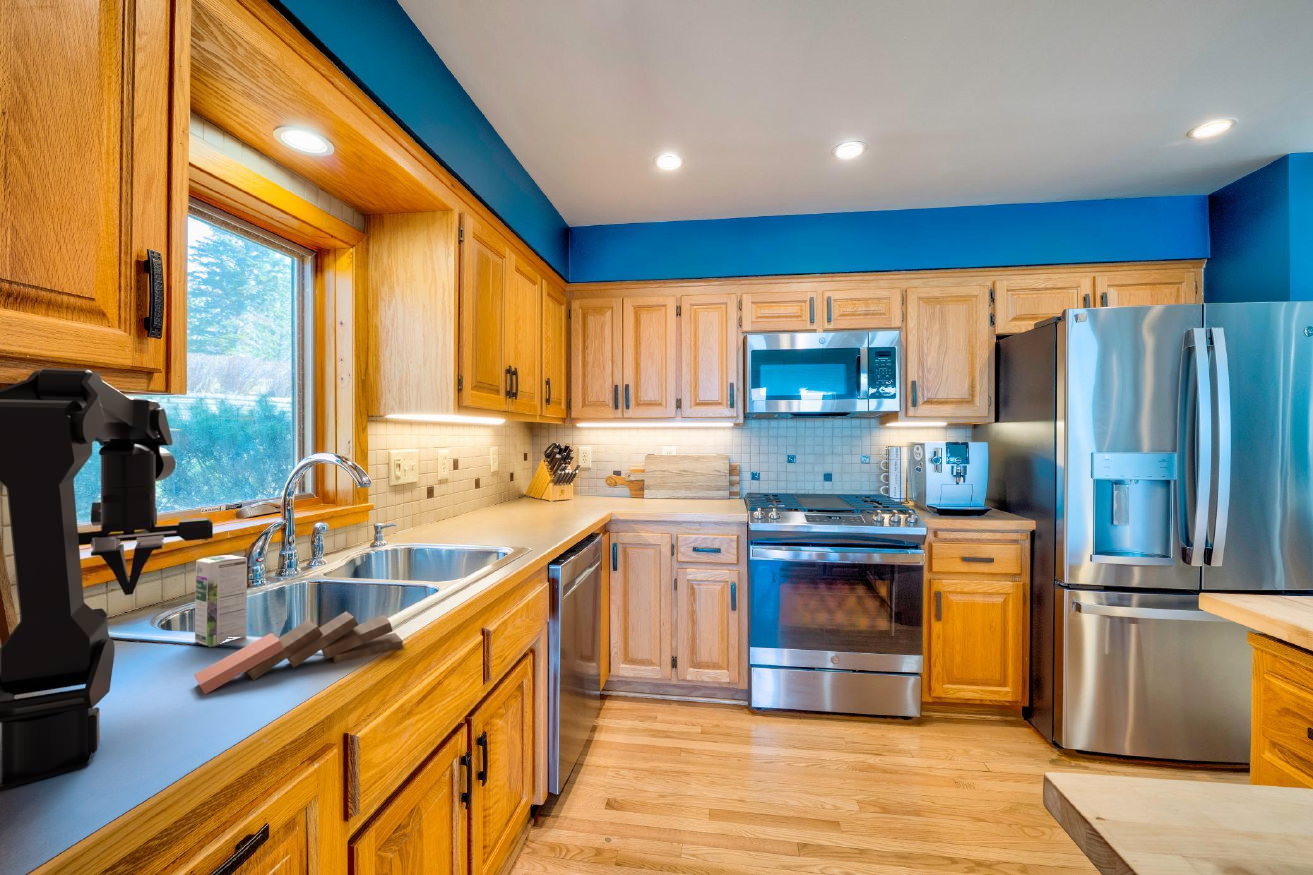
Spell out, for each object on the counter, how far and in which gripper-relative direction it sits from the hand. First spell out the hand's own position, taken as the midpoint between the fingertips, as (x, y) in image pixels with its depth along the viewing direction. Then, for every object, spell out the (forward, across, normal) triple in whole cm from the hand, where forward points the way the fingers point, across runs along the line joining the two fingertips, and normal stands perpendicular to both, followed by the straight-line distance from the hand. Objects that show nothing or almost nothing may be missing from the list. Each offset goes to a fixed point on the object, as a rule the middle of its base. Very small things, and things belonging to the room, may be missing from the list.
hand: (129, 594), depth 79 cm
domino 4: (+11, -23, +9) cm, 27 cm away
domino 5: (+13, -24, +9) cm, 28 cm away
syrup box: (+13, -11, -14) cm, 22 cm away
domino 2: (+12, -13, +8) cm, 20 cm away
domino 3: (+12, -18, +8) cm, 23 cm away
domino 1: (+12, -8, +9) cm, 17 cm away
